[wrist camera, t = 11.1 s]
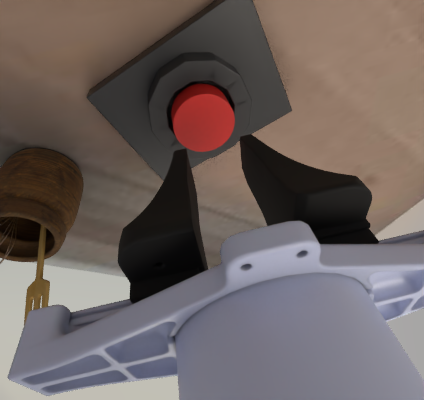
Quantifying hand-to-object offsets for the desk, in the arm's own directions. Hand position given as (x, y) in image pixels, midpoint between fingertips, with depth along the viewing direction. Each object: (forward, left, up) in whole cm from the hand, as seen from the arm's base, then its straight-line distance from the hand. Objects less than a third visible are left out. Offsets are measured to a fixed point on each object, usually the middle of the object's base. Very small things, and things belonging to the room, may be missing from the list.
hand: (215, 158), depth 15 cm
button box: (0, 0, -8) cm, 8 cm away
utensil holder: (-14, +1, -9) cm, 16 cm away
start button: (0, 0, -6) cm, 6 cm away
